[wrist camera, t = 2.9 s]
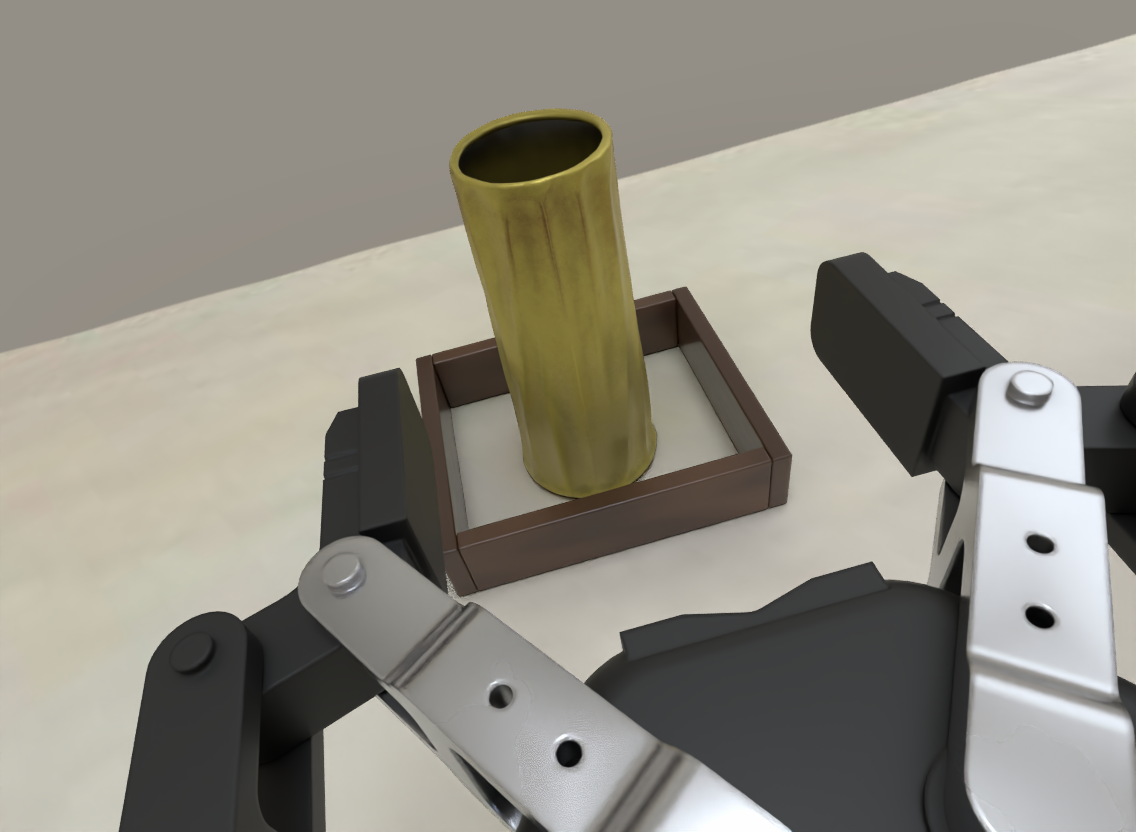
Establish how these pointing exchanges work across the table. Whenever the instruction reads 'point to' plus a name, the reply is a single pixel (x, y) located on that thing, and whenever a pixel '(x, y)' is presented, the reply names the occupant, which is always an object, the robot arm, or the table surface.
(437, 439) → the open brown wooden box
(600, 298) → the vase
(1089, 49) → the table surface
